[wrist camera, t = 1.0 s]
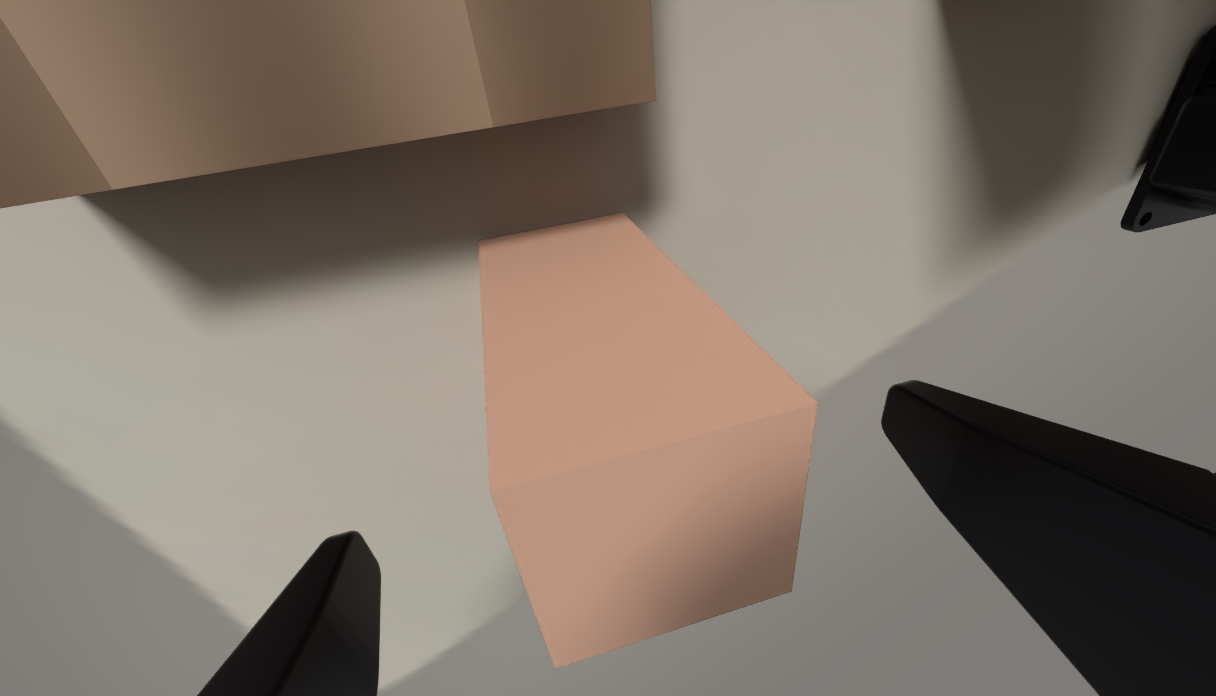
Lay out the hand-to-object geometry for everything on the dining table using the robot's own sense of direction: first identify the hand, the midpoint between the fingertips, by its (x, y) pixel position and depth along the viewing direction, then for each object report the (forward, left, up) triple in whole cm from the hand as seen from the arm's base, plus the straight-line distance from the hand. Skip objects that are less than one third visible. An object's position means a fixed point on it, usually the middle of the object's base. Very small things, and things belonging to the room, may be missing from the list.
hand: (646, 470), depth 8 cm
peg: (0, 0, -8) cm, 8 cm away
